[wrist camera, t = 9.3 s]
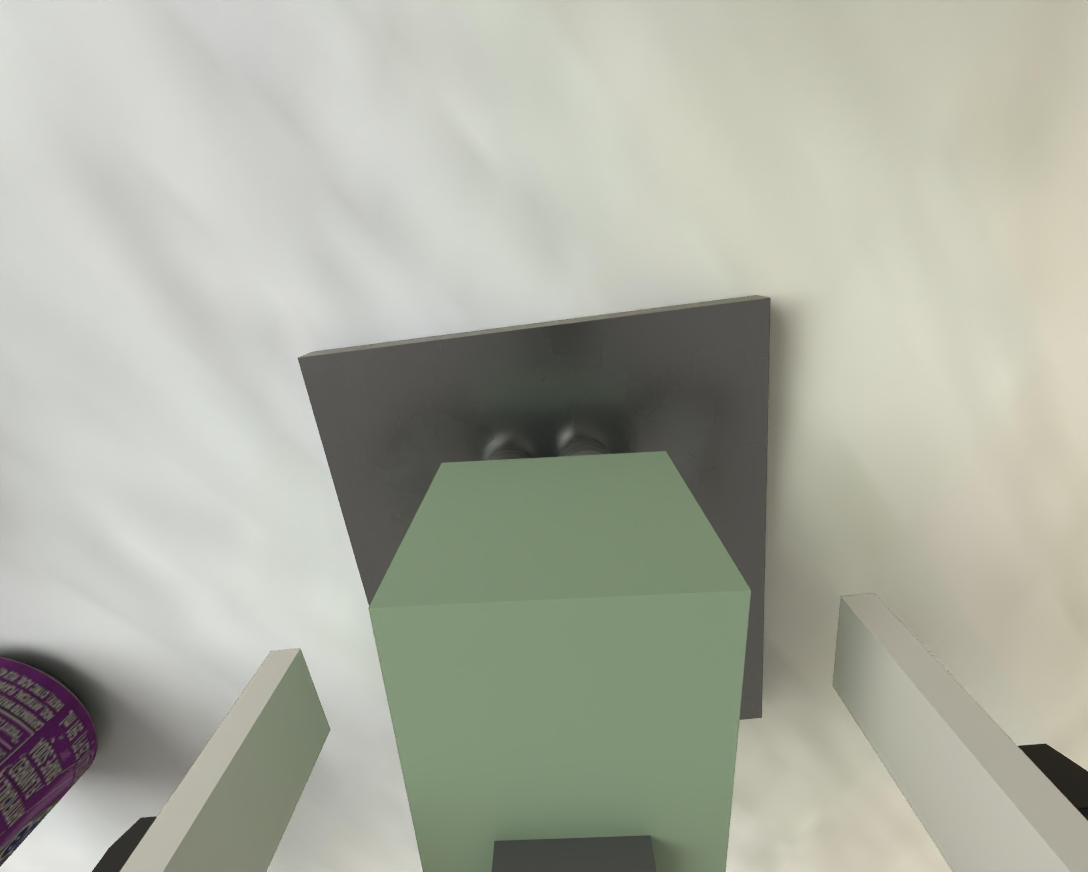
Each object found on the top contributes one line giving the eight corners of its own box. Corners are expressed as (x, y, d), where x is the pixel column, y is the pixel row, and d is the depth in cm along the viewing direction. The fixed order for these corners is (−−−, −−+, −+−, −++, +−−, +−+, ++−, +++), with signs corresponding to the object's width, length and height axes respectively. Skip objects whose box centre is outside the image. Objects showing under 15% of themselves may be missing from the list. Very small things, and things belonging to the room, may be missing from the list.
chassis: (312, 351, 16) (252, 376, 13) (756, 295, 16) (813, 305, 12) (416, 727, 22) (392, 813, 18) (751, 696, 21) (790, 779, 18)
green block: (441, 462, 14) (355, 634, 8) (665, 451, 14) (767, 616, 7) (478, 739, 17) (440, 1017, 11) (659, 732, 17) (725, 1010, 11)
